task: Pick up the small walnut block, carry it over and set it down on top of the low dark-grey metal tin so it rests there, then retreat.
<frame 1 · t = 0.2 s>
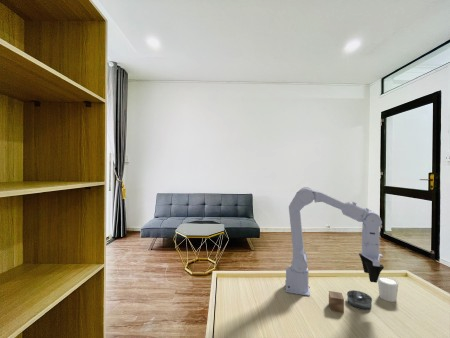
hand: (370, 277, 88), 10 cm above the table, fingers open, 7 cm apart
tin: (359, 303, 87), on the table
grey and white cylinder: (387, 298, 91), on the table
walnut block: (336, 308, 84), on the table
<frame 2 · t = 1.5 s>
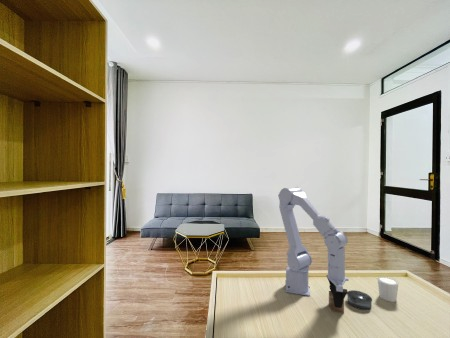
hand: (336, 301, 84), 3 cm above the table, fingers open, 7 cm apart
nothing on the table moved.
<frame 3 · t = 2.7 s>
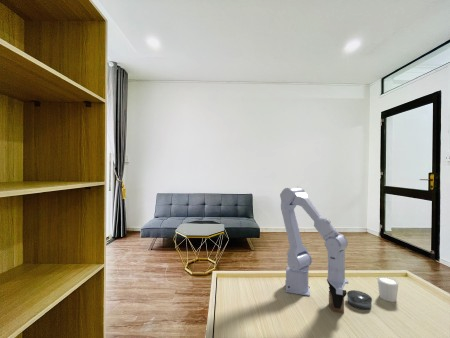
hand: (336, 303, 84), 2 cm above the table, fingers closed on walnut block, 4 cm apart
walnut block: (336, 308, 84), on the table, touching gripper
everything else where it was.
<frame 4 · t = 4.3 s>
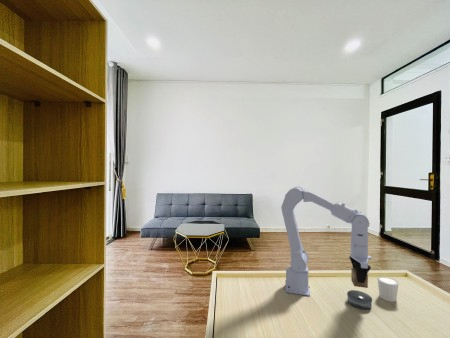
hand: (359, 279, 87), 9 cm above the table, fingers closed on walnut block, 4 cm apart
walnut block: (359, 284, 87), point 7 cm above the table, touching gripper
everything else where it was.
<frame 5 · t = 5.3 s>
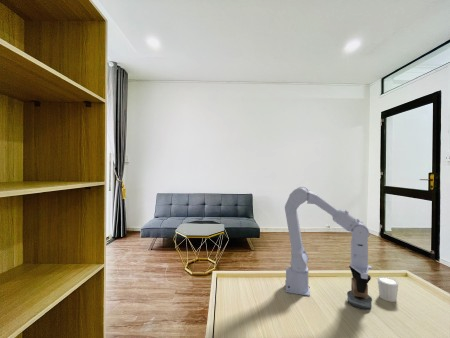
hand: (359, 288, 87), 6 cm above the table, fingers closed on walnut block, 4 cm apart
walnut block: (359, 293, 87), point 4 cm above the table, touching gripper
everything else where it was.
when the fingers open (6 cm above the table, at t = 6.1 s): walnut block stays where it is, resting on tin.
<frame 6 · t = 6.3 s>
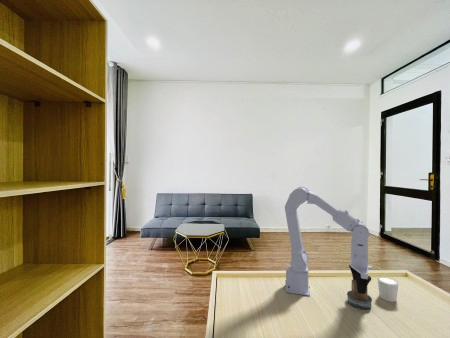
hand: (359, 288, 87), 6 cm above the table, fingers open, 6 cm apart
tin: (359, 303, 87), on the table, touching walnut block
walnut block: (359, 296, 87), point 3 cm above the table, touching tin
everything else where it was.
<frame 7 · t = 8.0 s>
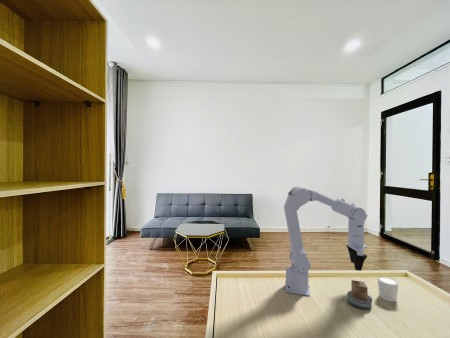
hand: (355, 266, 96), 10 cm above the table, fingers open, 7 cm apart
nothing on the table moved.
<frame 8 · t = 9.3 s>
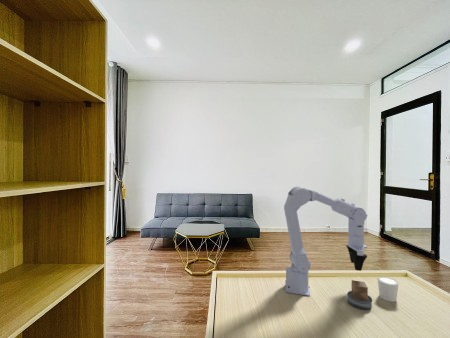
hand: (355, 266, 96), 10 cm above the table, fingers open, 7 cm apart
nothing on the table moved.
at the end: walnut block 0.0 cm off-centre on the tin, point 3.0 cm above the tin's base; walnut block tilted 0°; the gripper is holding nothing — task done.
